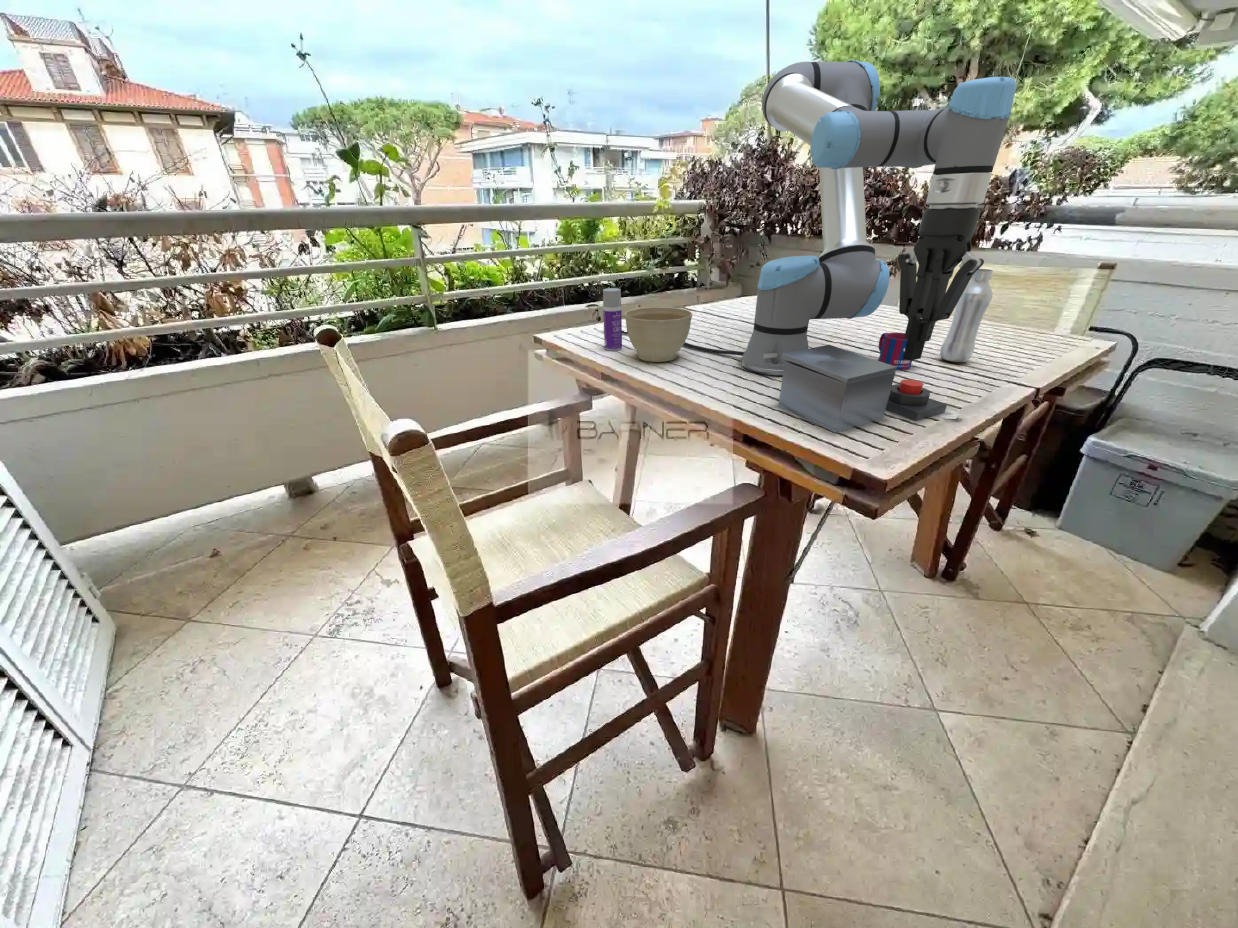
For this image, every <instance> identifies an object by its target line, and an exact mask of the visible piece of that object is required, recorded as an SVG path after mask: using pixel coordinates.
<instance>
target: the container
mask: <svg viewBox="0 0 1238 928" xmlns="http://www.w3.org/2000/svg"><path fill="white" fill-rule="evenodd" d="M602 313H603V314H602V315H603V339H604V340H603V341H604V342H603V343H604V350H605V351H608V352H617V351H621V350H622V349H623V334H622V331H623V324H622V321H623V320H622V316H623V315H622V293H621V288H618V287H609V288H608V287H607V288H603V289H602Z"/></svg>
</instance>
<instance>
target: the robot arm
mask: <svg viewBox="0 0 1238 928" xmlns="http://www.w3.org/2000/svg"><path fill="white" fill-rule="evenodd" d="M1017 85H1018V84H1017V80H1015V78H1012V77H1009V76H990V77H982V78H981V77H980V78H975V79H971V80H967V81H964V82H961V83H959V84H958V85H957V86H956V88H954V90H953V93H952V96H951V97H950V100H949V103H948V106H945V107H941V108H936V109H919V110H918V109H913V110H912V109H911V110H877V108H878V104H879V103H878V98H880V94H881V81H880V76H879V72H878V70H877V69H876V67H875V66H874V65H873V64H872V63H870V62H868V61H859V60H855V59H852V60H847V61H800V62H799V61H798V62H795V63H792V64H789V65H787V66H786V67H783V68H782V69H780V70H779V71H778V72H777V73H776V74H775V75H774V76H773V77H771V79H770V80H769V82H768V83H767V84H766V87H765V90H764V92H763V94H762V98H761V111H762V116H763V117H764V120H765V122H767V124H768V125H769V126H770V127H772V128H773V129H775V130H776V131H779V132H790V134H791V133H792V134H793V135H794V136H795V137H796V138H798V139H800V140H801V141H803V142H804V143H805V144H807V145H808V146H809V147H810V148H809V152H810V157H811V162H812V164H813V165H814V166H815V167H818V173H819V190H820V191H819V192H820V210H821V212H820V213H821V232H822V248H823V249H822V250H823V251H822V252H821V253H820V255H819V256H816V255H793V256H786V257H779V258H775V259H773V260H770V261H767V262H766V263H764V265H763V266H762V267H761V269H760V271H759V278H758V283H757V286H756V287H757V294H756V303H755V304H756V305H755V312H754V319H753V320H754V322H753V330H752V334H751V336H750V338H749V340H748V344H747V346H746V349H745V351H739V350H727V349H726V350H723V349H715V348H709V347H706V346H705V347H704V346H700V345H696V344H693V343H688V342H686V341H685V343H684V344H683V346H684V347H687V348H690V349H693V350H698V351H701V352H707V353H713V354H717V355H719V354H721V355H733V356H741V357H742V358H741V366H742V367H743V368H745V370H748V371H750V372H752V373H756V374H760V375H766V376H776V377H778V376H779V377H783V371H784V364H785V361H789V360H786V359H784V358H782V355H783V353H789V352H794V351H799V350H804V349H809V340H808V329H809V323H810V321H811V320H833V319H836V320H837V319H848V320H852V319H854V318H864V317H868V316H870V315H872V314H873V313H875V311H877V309H879V307H880V306H881V304H882V303H883V300H884V299H885V298H886V294H887V292H888V288H889V284H890V268H889V266H888V265H887V263H886V262H885V261H883V260H882V259H881V260H880V259H876V258H877V257H876V248H875V246H874V245H873V244H871V243H869V242H868V240H867V223H866V221H867V220H866V205H865V204H866V203H865V185H864V182H865V181H864V168H890V167H891V168H893V167H894V168H897V167H898V168H899V167H901V168H905V169H911V168H915V169H918V168H923V167H925V166H933V165H934V168H933V172H932V177H931V181H930V184H929V189H928V193H927V197H926V201H925V204H926V205H927V206H929V207H928V208H926V209H924V211H923V212H922V217H921V220H920V223H919V227H918V228H919V229H918V234H919V235H918V236H919V237H918V239H917V241H916V242H915V244H914V246H913V248H912V249H910V250H909V251H908V252H906V253H900V254H899V255H898V256H897V261H898V265H899V268H900V276H899V303H898V304H899V306H898V310H899V311H898V312H899V314H900V315H904V316H905V317H907V325H906V328H905V332H904V333H905V338H908V340H907V344H906V347H905V351H904V355H903V359H906V360H909V361H912V362H913V361H916V360H920V359H921V358H922V355H923V351H924V348H925V344H926V342H929V341H930V340H931V338H932V335H933V332H934V328H935V325H936V324H937V322H939V321H945V320H948V319H949V318H950V317H951V316H952V314H953V312H954V311H955V308H956V305H957V303H958V301H959V299H960V297H961V296H962V294H963V292H964V290H965V288H966V287H967V285H968V283H969V282H970V281H971V278H972V276H973V274H974V273H975V272H976V271H977V270H978V269H981V268H982V266H983V265H984V264H985V259H983V258H982V257H981V258H980V257H979V258H978V257H976V256H975V255H974V254H973V253H972V252H971V251H972V248H973V246H972V238H973V236H974V235H975V232H976V228H977V226H978V223H979V219H980V216H981V213H982V211H981V208H978V206H979V205H982V204H983V203H984V202H985V200H986V196H987V193H988V189H989V185H990V182H991V179H992V175H993V171H994V167H995V165H996V161H997V158H998V155H999V151H1000V148H1001V145H1002V141H1003V138H1004V135H1005V133H1006V129H1007V126H1008V123H1009V119H1010V117H1011V116H1012V114H1013V113H1012V108H1013V103H1014V99H1015V95H1016V91H1017ZM917 264H918V266H917ZM956 267H958V268H959V269H958V270H957V271H956V273H955V275H954V271H955V268H956ZM953 275H954V276H953ZM952 277H953V278H952ZM951 278H952V280H951V282H950V279H951ZM949 282H950V284H949ZM624 331H625V330H622V335H628V333H627V332H624Z"/></svg>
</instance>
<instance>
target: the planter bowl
mask: <svg viewBox="0 0 1238 928" xmlns="http://www.w3.org/2000/svg"><path fill="white" fill-rule="evenodd" d="M624 319H625V328H626V331H627V333H628V334H627V337H628V339H629V341H630V344H631V346H632V347H633V348H634V350H635V351H636V352H637V356H638V359H640V360H642V361H646V362H652V363H661V362H662V363H663V362H670V361H674V360H676V358H677V356H678V353H679V351H680V350H681V349H682V348H683V346H684V345H683V344H684V343H685V342H686V341H687V339H688V336H689V333H690V331H691V325H692V324H691V323H692V319H693V312H692V311H690V310H688V309H685V308H679V307H669V306H668V307H667V306H666V307H665V306H651V307H649V306H647V307H639V308H635V309H630V310H627V311H625V312H624Z"/></svg>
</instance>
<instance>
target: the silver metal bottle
mask: <svg viewBox="0 0 1238 928" xmlns="http://www.w3.org/2000/svg"><path fill="white" fill-rule="evenodd" d="M993 272H994V270H993V269H989V268H979V269H978V270H977V271H976V272H975V273H974V274H973V276H972V278H971V279H970V281H969V283H968V285H967V287H966V288H965V290H964V292H963V294H962V296H961V297H960V299H959V301H958V303H957V305H956V306H955V308H954V314H953V317H952V321H951V325H950V326H949V330H948V332H947V334H946V337H945V339H943V343H942V344H941V347H940V351H939V355H940V358H941V359H942V360H945V361H948V362H952V363H965V362H968V361H969V360H970V359H971V358H972V356H973V355H974V353H975V348H976V347H975V346H976V340H977V335H978V331H979V328H980V325H981V322H982V320H983V318H984V315H985V314H986V311H987V310H988V307H989V305H990V303H991V301H992V299H993V290H992V287H991V285H990V283H989V281H991V280H992V275H993Z"/></svg>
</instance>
